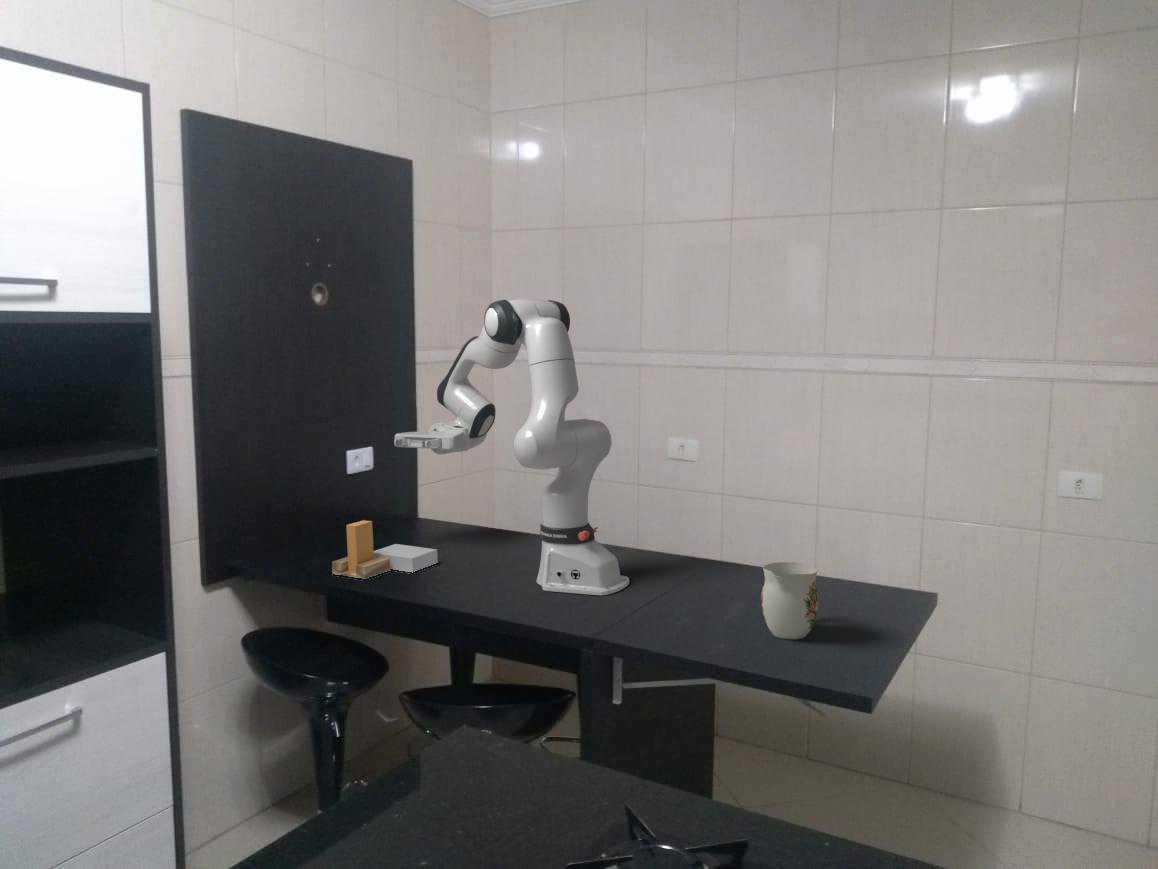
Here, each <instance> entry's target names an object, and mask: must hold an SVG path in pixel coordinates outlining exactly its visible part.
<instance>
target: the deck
mask: <svg viewBox="0 0 1158 869" xmlns="http://www.w3.org/2000/svg"><path fill="white" fill-rule="evenodd" d="M373 551H374V559H377V558H379V557H383V558H390V569H393V570H399V571H405V572H412V573H413V572H415V571H418V570H420V569H423V568H425V567H428V566H431V565H433V564H436V563H439V562H438V561H439V560H438V549H437V548H436V549H435V548H429V547H421V546H414V545H406V544H399V543H394V544H391V545H388V546H385V547H383V548H379V549H375V550H373Z"/></svg>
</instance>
